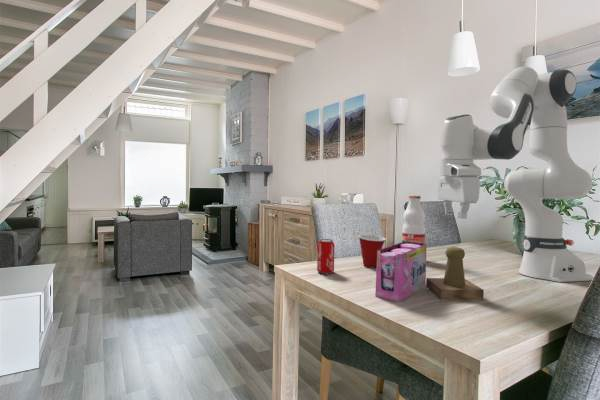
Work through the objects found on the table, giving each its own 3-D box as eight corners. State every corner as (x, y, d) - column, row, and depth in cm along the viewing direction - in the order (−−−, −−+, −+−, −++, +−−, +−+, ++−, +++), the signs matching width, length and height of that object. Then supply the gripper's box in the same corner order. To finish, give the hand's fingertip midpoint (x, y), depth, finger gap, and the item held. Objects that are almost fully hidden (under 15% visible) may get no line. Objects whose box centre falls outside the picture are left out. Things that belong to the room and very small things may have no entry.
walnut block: (463, 287, 110) (464, 278, 110) (483, 300, 98) (483, 289, 98) (426, 287, 110) (426, 277, 110) (440, 299, 98) (441, 289, 98)
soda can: (331, 275, 124) (332, 242, 123) (314, 273, 126) (315, 241, 125) (335, 271, 130) (336, 239, 129) (319, 269, 132) (320, 238, 131)
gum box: (399, 303, 95) (400, 254, 94) (372, 298, 100) (373, 251, 99) (426, 284, 114) (427, 243, 113) (402, 280, 119) (403, 240, 118)
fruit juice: (427, 260, 150) (429, 195, 149) (419, 264, 143) (421, 196, 141) (406, 257, 156) (408, 195, 155) (398, 260, 149) (399, 195, 147)
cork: (470, 286, 102) (471, 249, 101) (452, 287, 100) (453, 249, 99) (455, 280, 107) (456, 245, 107) (438, 282, 106) (439, 246, 105)
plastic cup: (382, 270, 131) (382, 239, 131) (354, 267, 136) (354, 237, 135) (387, 264, 141) (388, 235, 140) (361, 262, 146) (362, 233, 145)
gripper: (432, 171, 113) (432, 213, 114) (461, 169, 93) (459, 220, 93) (452, 171, 113) (451, 213, 114) (484, 169, 92) (483, 220, 93)
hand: (455, 216), depth 103 cm, fingers open, 8 cm apart
